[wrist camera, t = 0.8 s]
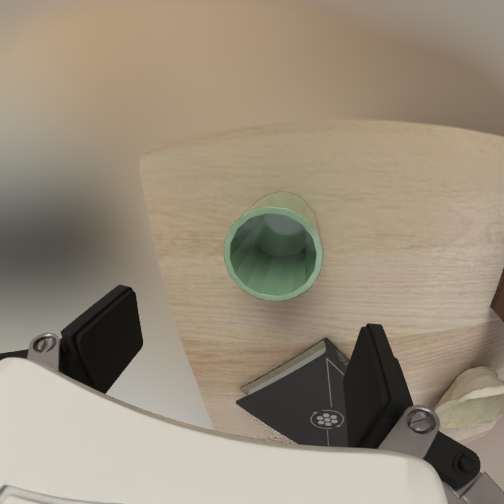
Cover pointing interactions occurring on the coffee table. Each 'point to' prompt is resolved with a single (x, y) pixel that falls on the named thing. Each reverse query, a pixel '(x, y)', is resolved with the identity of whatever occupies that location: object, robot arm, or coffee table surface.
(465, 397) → the bowl
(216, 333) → the coffee table surface
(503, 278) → the chest
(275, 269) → the green cup
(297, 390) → the book
